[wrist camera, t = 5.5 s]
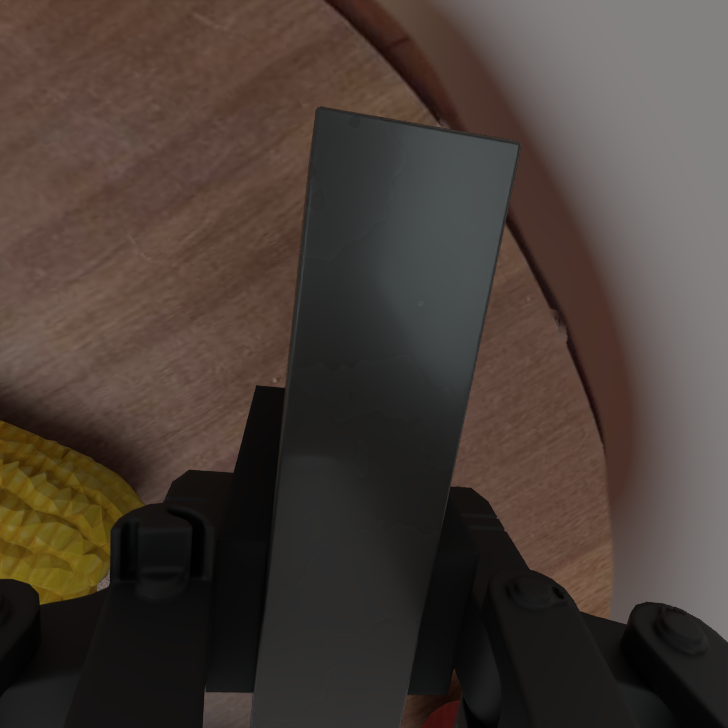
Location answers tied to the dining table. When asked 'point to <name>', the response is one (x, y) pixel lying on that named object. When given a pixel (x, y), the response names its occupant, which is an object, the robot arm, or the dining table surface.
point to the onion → (442, 716)
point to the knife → (373, 408)
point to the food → (56, 515)
